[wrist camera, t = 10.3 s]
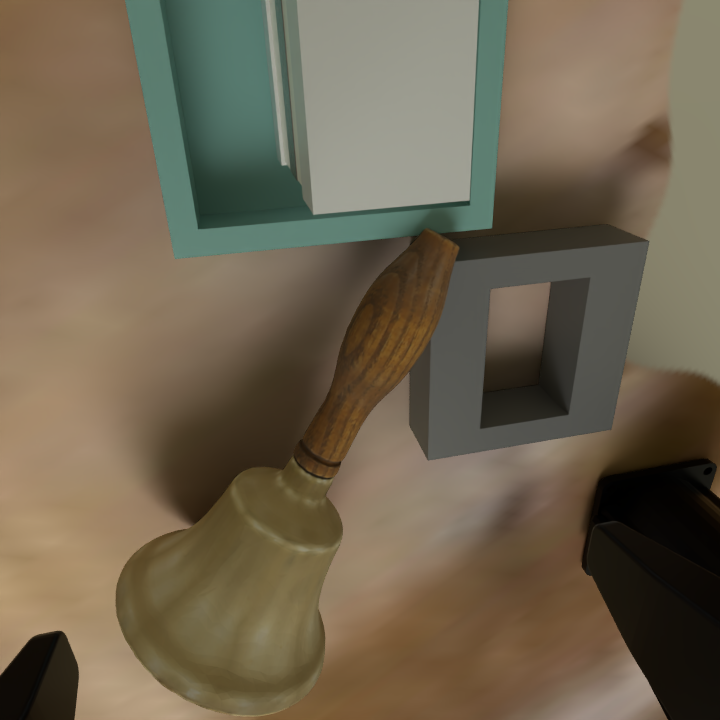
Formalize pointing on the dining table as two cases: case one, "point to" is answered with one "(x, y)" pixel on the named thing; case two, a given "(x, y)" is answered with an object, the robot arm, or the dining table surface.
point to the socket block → (560, 350)
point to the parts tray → (271, 135)
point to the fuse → (373, 99)
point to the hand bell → (277, 525)
